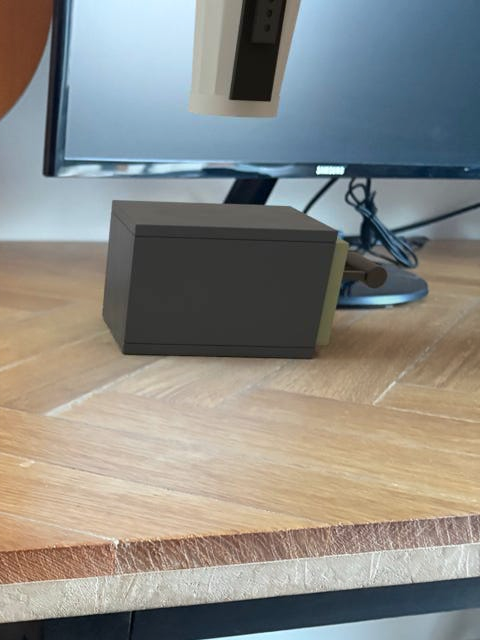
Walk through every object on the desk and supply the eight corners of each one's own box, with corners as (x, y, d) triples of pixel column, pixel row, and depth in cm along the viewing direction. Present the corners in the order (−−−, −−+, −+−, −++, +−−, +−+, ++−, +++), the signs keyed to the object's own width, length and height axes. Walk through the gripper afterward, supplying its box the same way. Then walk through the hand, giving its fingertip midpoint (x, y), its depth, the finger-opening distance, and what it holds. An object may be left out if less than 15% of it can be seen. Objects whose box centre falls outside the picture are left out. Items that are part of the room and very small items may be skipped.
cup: (312, 118, 71) (349, -90, 64) (232, 119, 67) (264, -103, 60) (231, 109, 76) (258, -84, 70) (153, 109, 72) (175, -95, 66)
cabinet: (270, 320, 85) (290, 205, 80) (313, 358, 75) (339, 230, 71) (101, 315, 84) (112, 199, 80) (122, 354, 74) (135, 224, 70)
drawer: (337, 313, 84) (357, 221, 81) (383, 346, 76) (408, 245, 72) (130, 307, 83) (140, 214, 80) (152, 340, 75) (164, 237, 71)
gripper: (198, -298, 67) (157, 87, 79) (285, -410, 50) (216, 104, 62) (306, -291, 68) (249, 91, 80) (429, -399, 51) (333, 109, 63)
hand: (234, 96), depth 71 cm, fingers closed on cup, 7 cm apart
